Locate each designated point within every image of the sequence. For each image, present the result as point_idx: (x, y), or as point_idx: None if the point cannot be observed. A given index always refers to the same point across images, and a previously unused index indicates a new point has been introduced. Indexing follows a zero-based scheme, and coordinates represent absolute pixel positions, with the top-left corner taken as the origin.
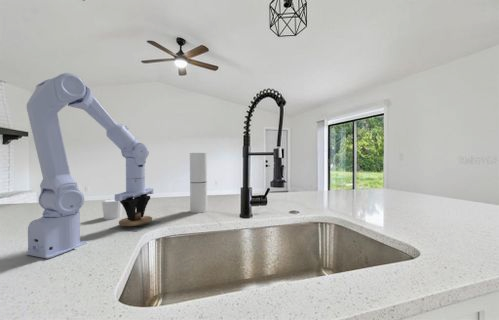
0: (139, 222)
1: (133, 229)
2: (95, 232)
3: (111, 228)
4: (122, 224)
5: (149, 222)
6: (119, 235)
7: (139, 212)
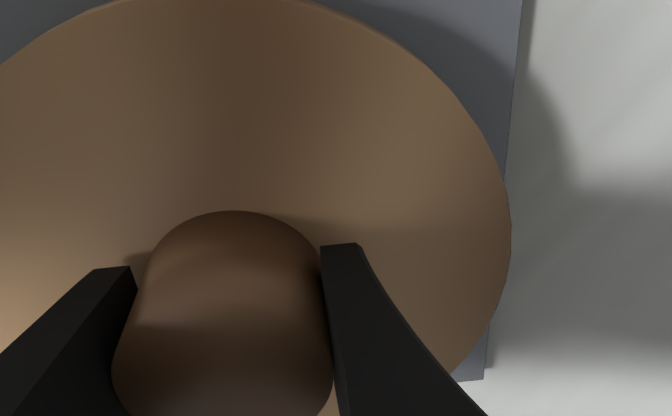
0: (349, 75)
1: (446, 66)
2: (582, 395)
3: (479, 357)
4: (504, 267)
5: None
6: (660, 78)
7: (139, 370)
